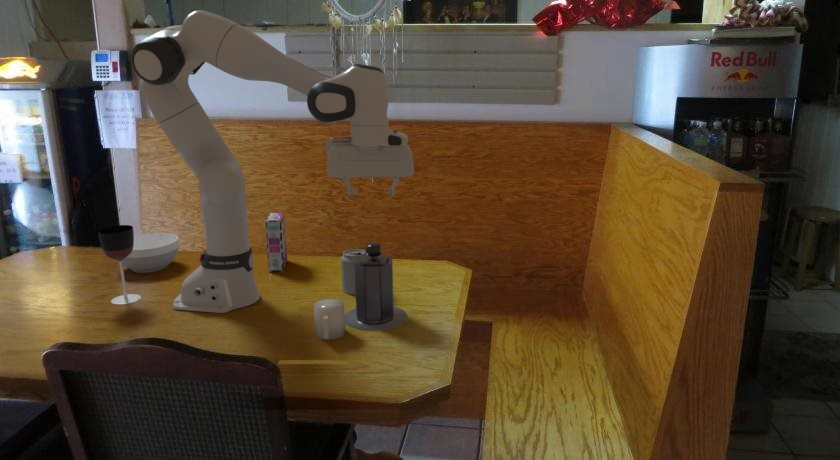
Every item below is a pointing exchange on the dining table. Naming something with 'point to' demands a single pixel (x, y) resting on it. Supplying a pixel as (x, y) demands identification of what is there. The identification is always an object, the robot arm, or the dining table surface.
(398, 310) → the coaster
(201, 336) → the dining table surface
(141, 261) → the bowl
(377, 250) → the plunger
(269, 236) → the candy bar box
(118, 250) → the wineglass
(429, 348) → the dining table surface
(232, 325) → the dining table surface
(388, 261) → the carafe
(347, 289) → the can
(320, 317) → the white rounded cylinder
